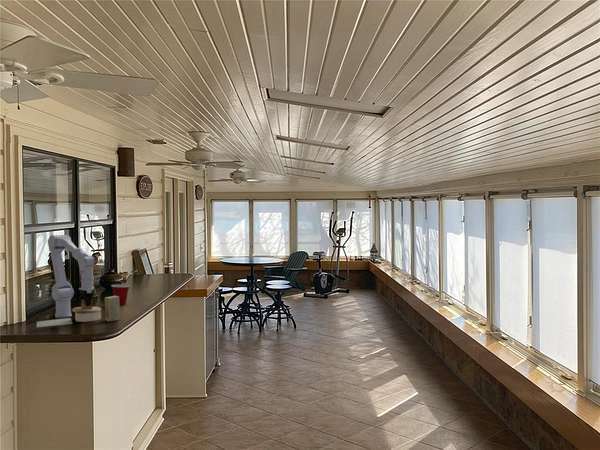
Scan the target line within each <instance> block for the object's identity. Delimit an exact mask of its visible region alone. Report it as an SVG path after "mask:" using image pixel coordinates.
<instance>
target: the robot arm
mask: <svg viewBox="0 0 600 450" xmlns="http://www.w3.org/2000/svg"><path fill="white" fill-rule="evenodd" d="M47 246H48V250H49V253H50V257H51V263H52V268H53V274H54V280H55V283H54V284H53V286H52V287H51V297H52V299H53V300H54V301H55V314H54V316H55V318H56V319H59V318H65V317H67V318H68V317H72V316H73V315H72V309H71V300H72V298H73V297H74V294H75V291H74V288H73V286H72V283H70V282H69V281H68V280H67V276H66V270H65V265H64V258H63V254H62V253H63V251H65V250H68V251H70V253H71V257H72V258H74V259H75V260H76V262H77V264H78V267H79V270H80V279H81V280H80V281H81V286H80V287H79V288H78V290H79V291H81V290H82V291H81V292H80V293H81V294H82V297H83V300H85V304H86V306H91V301H92V300H93V296H94V294H95V292H94V289H95V287H94V266H95V265H96V259H95V257H94V255H91V254H90V255H88V253H87V252H86V251H85V250H83V248H82V247H77V245H75V244H74V242H73V241H72V238H71V236H70V235H69V234H56V235H53V234H51V235H50V236H49V238H48V239H47Z"/></svg>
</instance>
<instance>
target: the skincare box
mask: <svg viewBox="0 0 600 450" xmlns="http://www.w3.org/2000/svg"><path fill="white" fill-rule="evenodd" d="M120 306H121V305H120V304H119V296H114V295H112V296H106V297H104V313H105V315H104V317H105V318H104V319H105V320H106V321H105V320H104V321H105V322H109V321H111V322H113V321H119V320H121V307H120Z"/></svg>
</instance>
